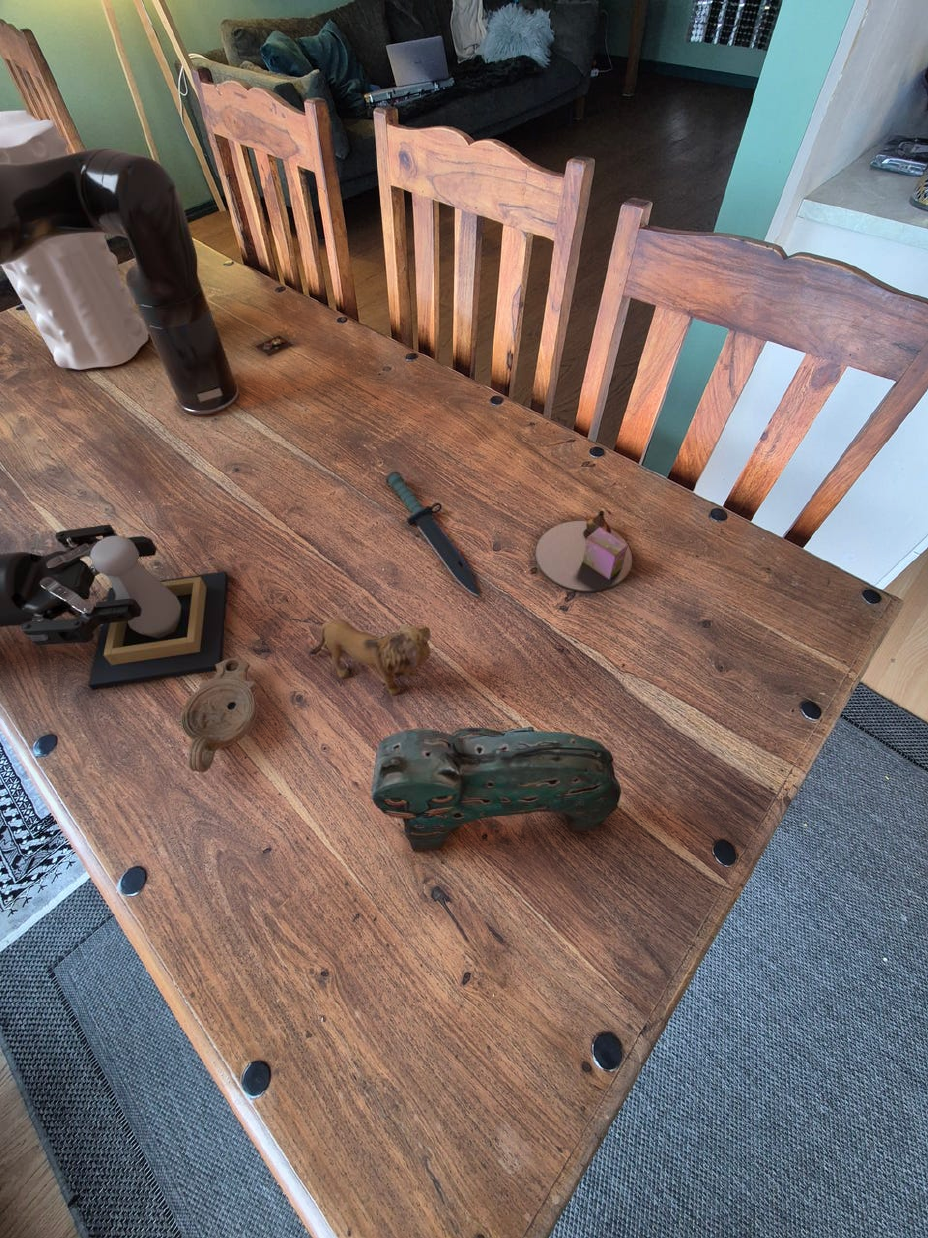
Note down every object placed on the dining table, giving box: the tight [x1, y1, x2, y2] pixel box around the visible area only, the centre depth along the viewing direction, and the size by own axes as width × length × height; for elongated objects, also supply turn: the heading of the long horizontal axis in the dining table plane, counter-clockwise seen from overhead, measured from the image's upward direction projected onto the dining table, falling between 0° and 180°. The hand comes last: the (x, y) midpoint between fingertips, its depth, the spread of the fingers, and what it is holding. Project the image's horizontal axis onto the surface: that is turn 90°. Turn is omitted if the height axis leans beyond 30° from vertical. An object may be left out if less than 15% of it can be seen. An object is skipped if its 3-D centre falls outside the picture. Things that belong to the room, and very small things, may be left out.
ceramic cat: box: [371, 726, 622, 853], centre depth 52 cm, size 20×6×20 cm, turn 95°
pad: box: [87, 570, 230, 691], centre depth 73 cm, size 14×14×3 cm
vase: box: [0, 109, 149, 371], centre depth 100 cm, size 17×16×32 cm
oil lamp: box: [180, 657, 258, 773], centre depth 65 cm, size 13×8×5 cm, turn 174°
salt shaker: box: [89, 535, 181, 639], centre depth 69 cm, size 6×6×13 cm
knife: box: [385, 471, 481, 597], centre depth 82 cm, size 23×2×5 cm
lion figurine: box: [308, 618, 432, 696], centre depth 67 cm, size 15×5×9 cm, turn 75°
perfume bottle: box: [534, 510, 633, 594], centre depth 78 cm, size 12×12×4 cm
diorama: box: [254, 334, 294, 357], centre depth 110 cm, size 3×4×2 cm
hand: (146, 575), depth 67 cm, fingers open, 8 cm apart
